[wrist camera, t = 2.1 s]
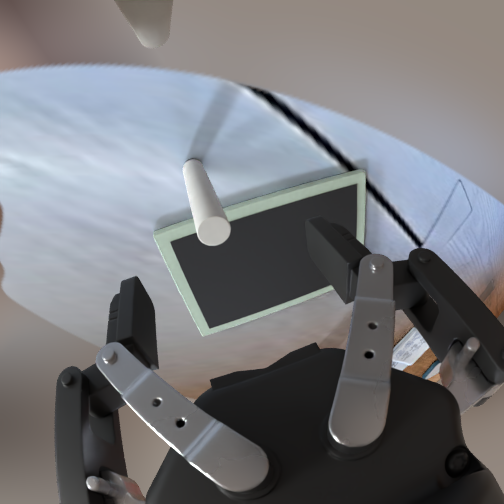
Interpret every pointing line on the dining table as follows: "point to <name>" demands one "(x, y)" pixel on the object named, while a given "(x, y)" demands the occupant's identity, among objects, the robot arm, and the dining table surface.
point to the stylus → (205, 205)
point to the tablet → (260, 252)
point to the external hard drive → (432, 370)
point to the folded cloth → (408, 350)
